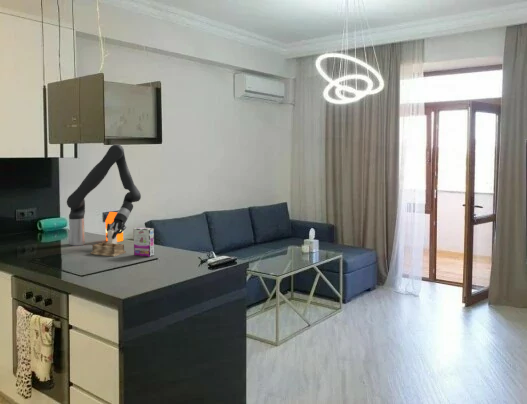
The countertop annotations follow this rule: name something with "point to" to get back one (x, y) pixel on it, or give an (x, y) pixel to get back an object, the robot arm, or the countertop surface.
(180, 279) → the countertop surface
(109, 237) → the clay bar
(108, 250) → the brown woven basket
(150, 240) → the candy bar box
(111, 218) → the orange juice
